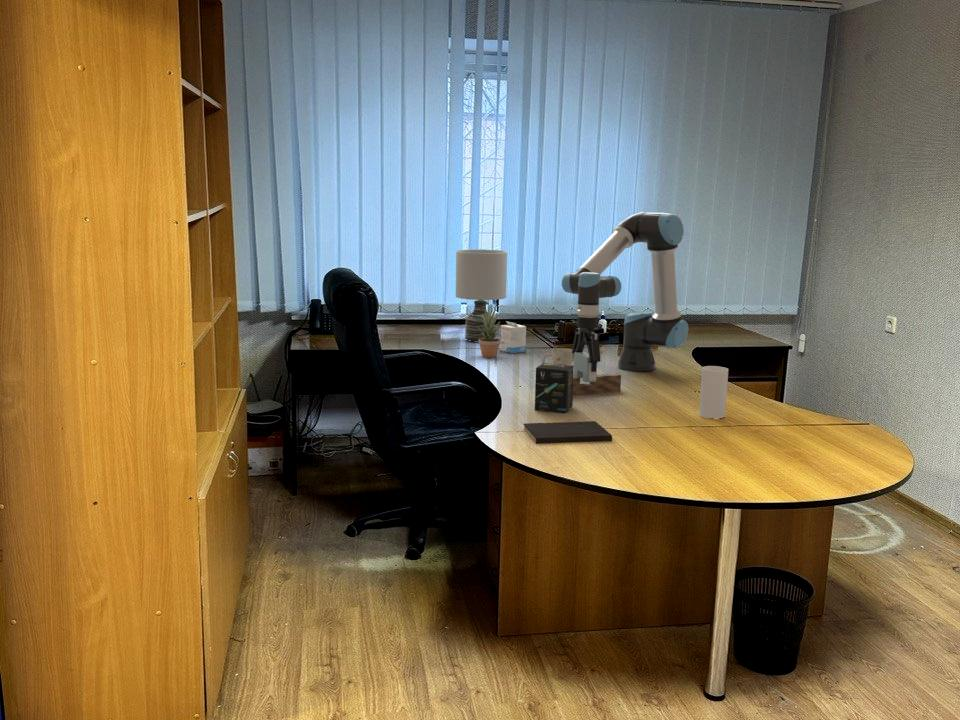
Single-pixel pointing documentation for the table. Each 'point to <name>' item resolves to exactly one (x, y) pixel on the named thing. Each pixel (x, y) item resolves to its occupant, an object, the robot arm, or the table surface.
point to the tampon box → (554, 388)
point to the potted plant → (489, 335)
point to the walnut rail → (598, 384)
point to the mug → (560, 356)
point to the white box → (513, 338)
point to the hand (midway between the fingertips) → (584, 377)
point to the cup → (713, 392)
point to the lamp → (480, 284)
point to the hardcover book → (567, 432)
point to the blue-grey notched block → (582, 366)
